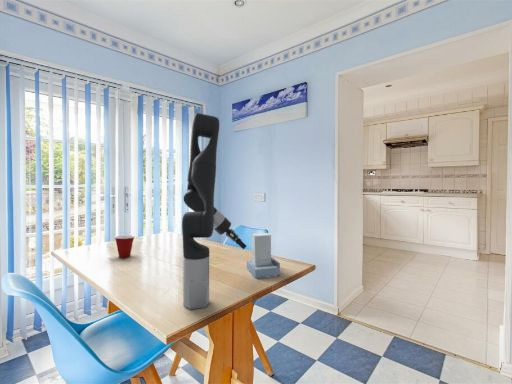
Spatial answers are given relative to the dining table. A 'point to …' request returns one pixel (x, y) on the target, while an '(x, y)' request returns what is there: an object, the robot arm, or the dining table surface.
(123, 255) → the plastic cup
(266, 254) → the skincare box
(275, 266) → the tray
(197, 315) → the dining table surface
